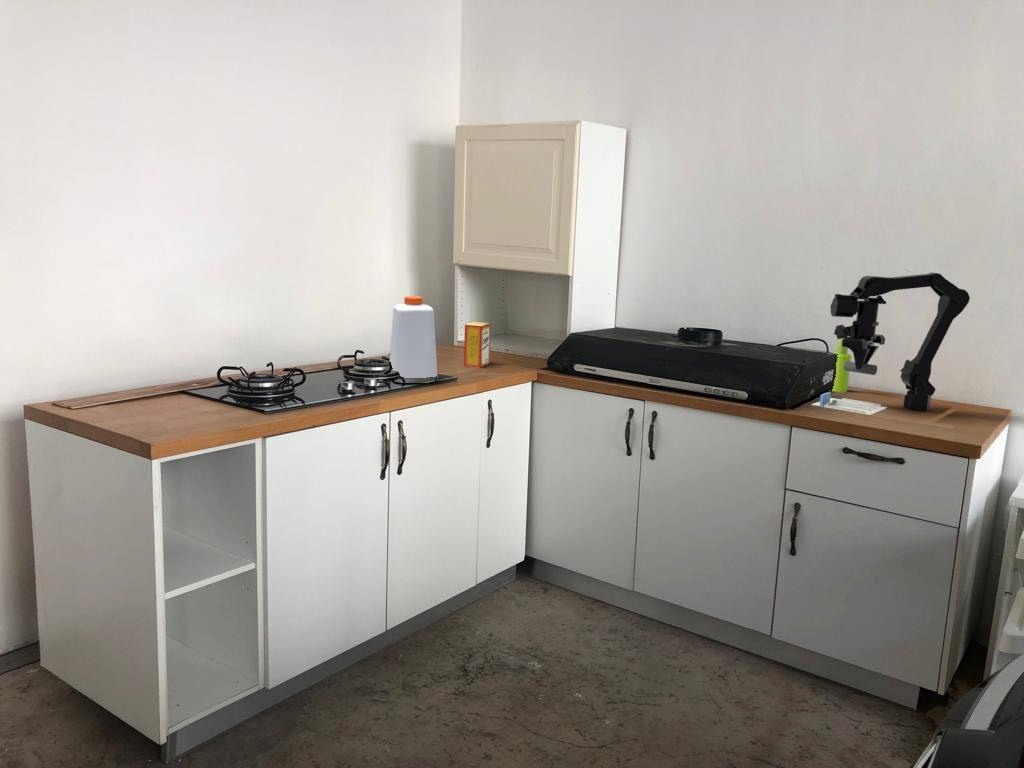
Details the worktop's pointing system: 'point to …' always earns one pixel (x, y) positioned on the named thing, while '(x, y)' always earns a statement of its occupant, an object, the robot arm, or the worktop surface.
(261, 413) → the worktop surface
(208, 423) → the worktop surface
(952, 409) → the worktop surface
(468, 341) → the baking soda box
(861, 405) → the board
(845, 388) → the soap dispenser
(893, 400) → the worktop surface
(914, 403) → the robot arm
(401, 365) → the plastic bottle
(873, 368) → the dark grey bar
